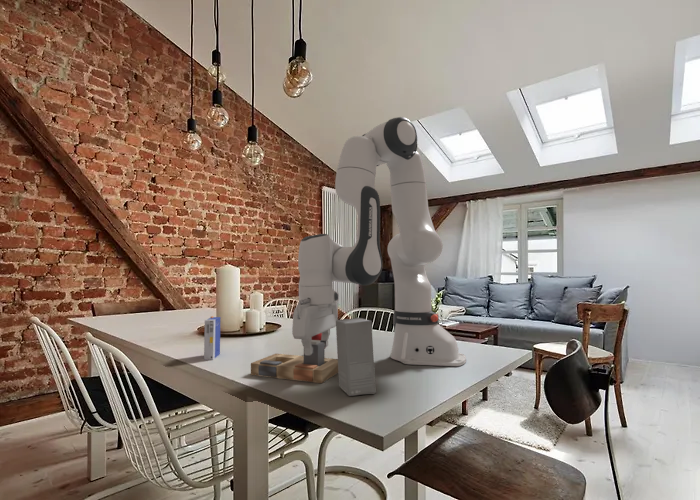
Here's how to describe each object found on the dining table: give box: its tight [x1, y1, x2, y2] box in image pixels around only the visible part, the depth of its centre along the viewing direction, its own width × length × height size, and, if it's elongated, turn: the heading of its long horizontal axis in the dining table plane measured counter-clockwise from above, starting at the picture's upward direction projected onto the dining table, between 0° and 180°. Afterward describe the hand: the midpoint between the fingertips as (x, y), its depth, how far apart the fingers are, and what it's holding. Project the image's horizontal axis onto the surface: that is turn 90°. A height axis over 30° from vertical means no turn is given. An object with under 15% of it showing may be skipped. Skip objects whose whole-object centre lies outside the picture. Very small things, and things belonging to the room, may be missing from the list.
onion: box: [312, 333, 327, 349], centre depth 123 cm, size 6×6×8 cm
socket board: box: [250, 353, 338, 384], centre depth 102 cm, size 20×12×3 cm, turn 69°
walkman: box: [203, 315, 221, 361], centre depth 120 cm, size 8×3×12 cm, turn 4°
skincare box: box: [335, 317, 377, 397], centre depth 88 cm, size 8×7×16 cm
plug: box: [303, 340, 326, 366], centre depth 100 cm, size 4×4×9 cm
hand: (316, 350), depth 100 cm, fingers open, 8 cm apart
